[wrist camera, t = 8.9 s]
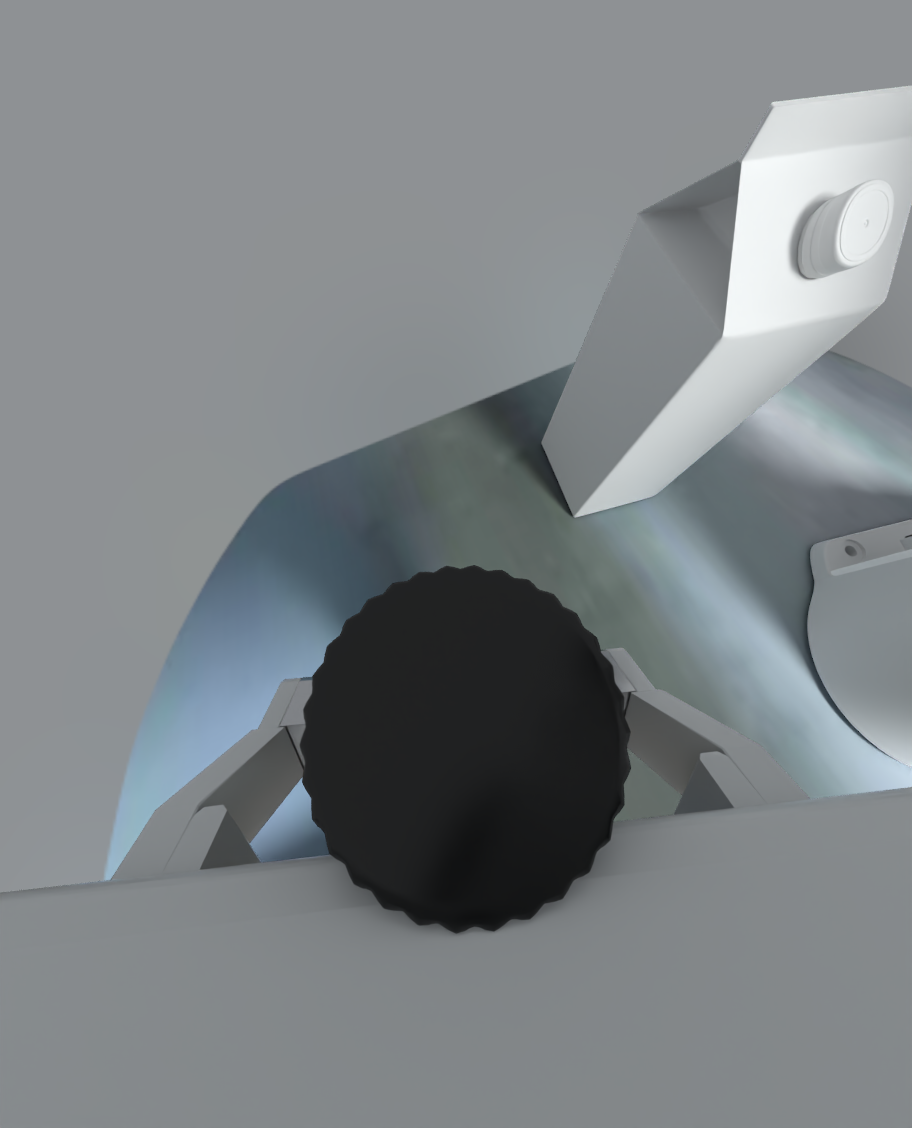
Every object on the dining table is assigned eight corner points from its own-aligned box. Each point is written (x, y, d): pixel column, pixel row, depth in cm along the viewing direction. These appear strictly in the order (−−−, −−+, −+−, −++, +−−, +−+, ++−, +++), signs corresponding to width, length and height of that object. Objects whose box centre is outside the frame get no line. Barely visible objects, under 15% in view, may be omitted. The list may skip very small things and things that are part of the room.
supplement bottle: (499, 605, 18) (600, 469, 6) (545, 748, 16) (824, 931, 4) (366, 642, 17) (206, 563, 5) (397, 798, 15) (245, 1193, 3)
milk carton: (539, 444, 28) (708, 41, 10) (617, 425, 29) (898, 23, 11) (572, 519, 26) (853, 183, 8) (654, 497, 27) (1072, 148, 9)
